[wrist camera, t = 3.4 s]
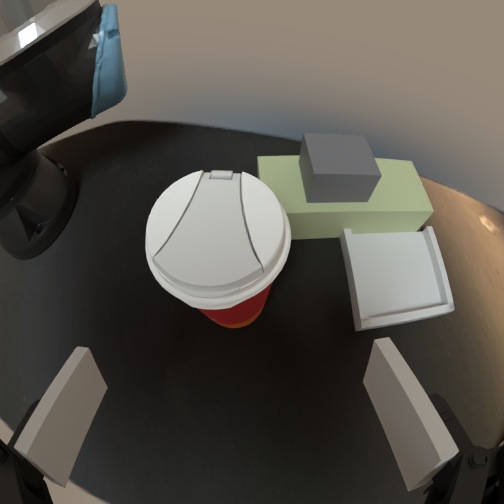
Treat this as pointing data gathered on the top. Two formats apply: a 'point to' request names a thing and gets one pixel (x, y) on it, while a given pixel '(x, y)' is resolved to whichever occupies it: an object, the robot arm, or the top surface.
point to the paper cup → (218, 244)
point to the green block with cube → (365, 225)
